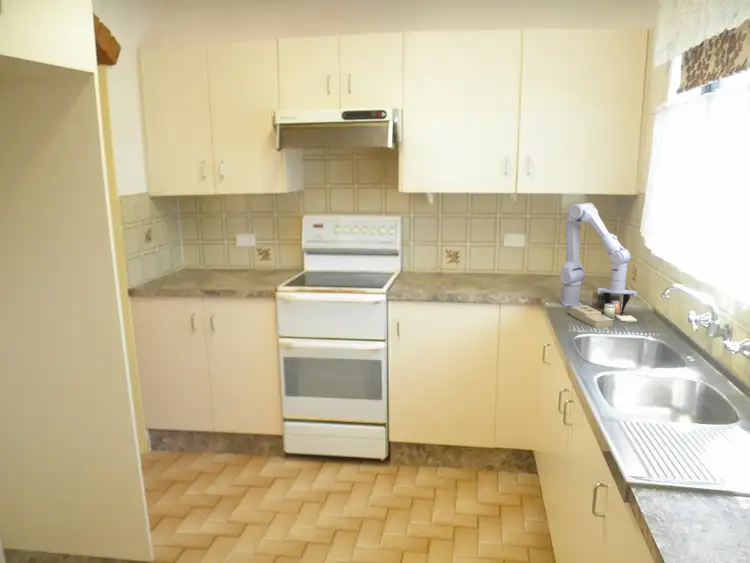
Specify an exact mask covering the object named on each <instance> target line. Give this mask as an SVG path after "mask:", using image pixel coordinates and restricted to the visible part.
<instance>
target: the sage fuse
mask: <svg viewBox="0 0 750 563" xmlns="http://www.w3.org/2000/svg"><path fill="white" fill-rule="evenodd" d="M603 315H604V316H606V317H608V318H610V319H613V321H615V304H610V303H607V304H605V306H604V312H603Z"/></svg>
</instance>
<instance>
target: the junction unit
mask: <svg viewBox="0 0 750 563" xmlns="http://www.w3.org/2000/svg"><path fill="white" fill-rule="evenodd" d="M591 300H592V301H591V306H590V307H591V308H594V309H596V310H598V311H600V312H601V313H604V306H605V304H606V302H605V299H604V297H603V293H600V294H599V293H598V290H593V291H592V298H591ZM611 300H620V301H621V310H622V305H623V295H614V294H610V302H611ZM624 312H625V310H624V311H623V313H624Z"/></svg>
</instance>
